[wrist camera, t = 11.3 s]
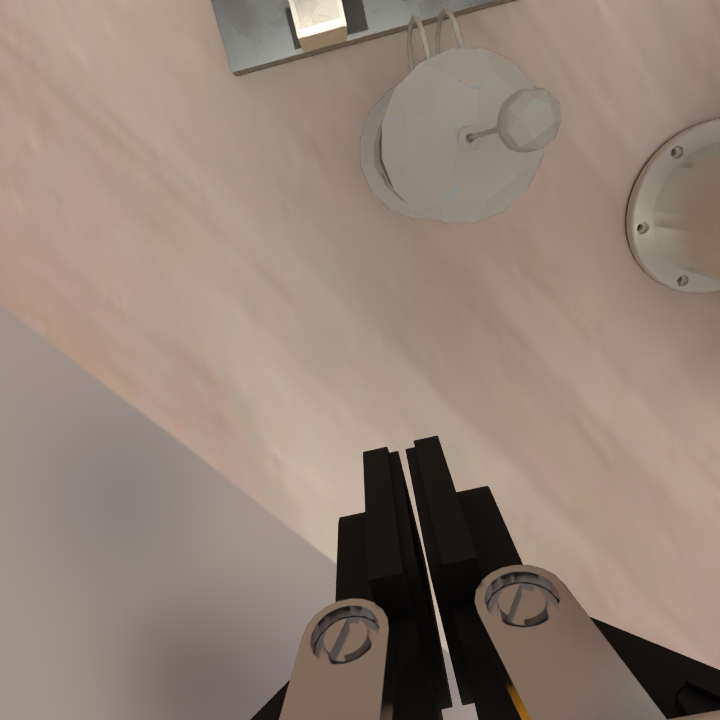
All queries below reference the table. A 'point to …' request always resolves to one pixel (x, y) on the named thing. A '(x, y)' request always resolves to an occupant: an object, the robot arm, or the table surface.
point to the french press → (456, 134)
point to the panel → (273, 41)
